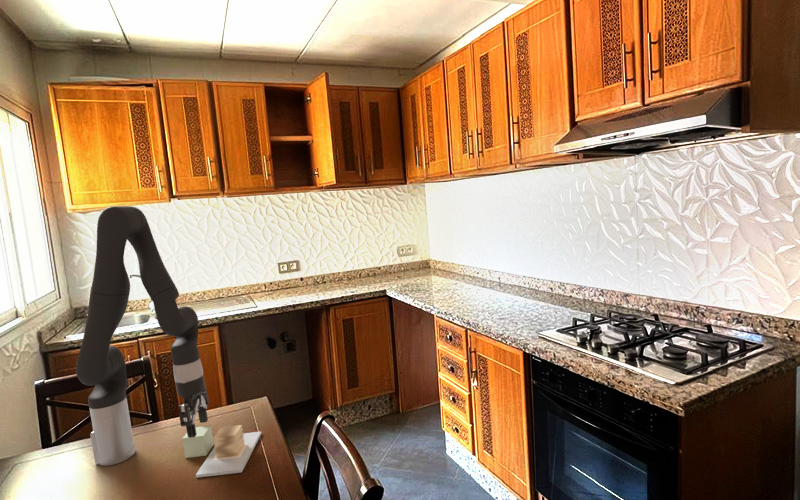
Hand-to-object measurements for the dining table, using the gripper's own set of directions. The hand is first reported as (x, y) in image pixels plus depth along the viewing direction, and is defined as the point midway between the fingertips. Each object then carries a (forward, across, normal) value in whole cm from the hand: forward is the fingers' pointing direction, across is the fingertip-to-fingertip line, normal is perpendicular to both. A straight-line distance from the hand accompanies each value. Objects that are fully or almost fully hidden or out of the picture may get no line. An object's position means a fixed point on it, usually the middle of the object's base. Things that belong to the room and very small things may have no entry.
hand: (198, 429), depth 131 cm
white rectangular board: (+7, +4, +10) cm, 13 cm away
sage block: (+7, 0, -1) cm, 7 cm away
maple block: (+6, +4, +10) cm, 12 cm away
